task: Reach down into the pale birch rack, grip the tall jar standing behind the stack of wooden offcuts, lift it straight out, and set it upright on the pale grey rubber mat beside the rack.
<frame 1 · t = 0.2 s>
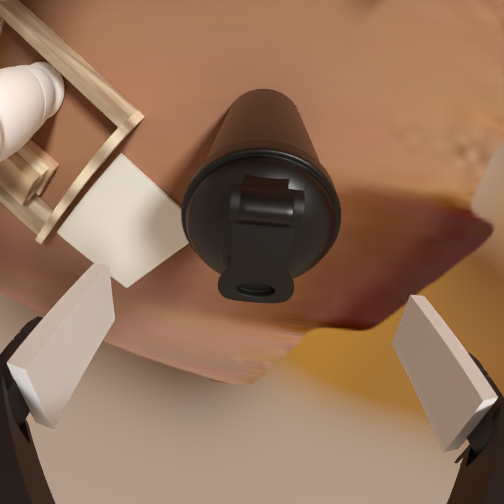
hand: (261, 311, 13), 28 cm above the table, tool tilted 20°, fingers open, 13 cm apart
mat: (123, 229, 46), on the table
jar: (41, 89, 31), resting in rack
offcut stack: (13, 141, 36), resting in rack
rack: (27, 114, 33), on the table
water bottle: (263, 122, 35), on the table
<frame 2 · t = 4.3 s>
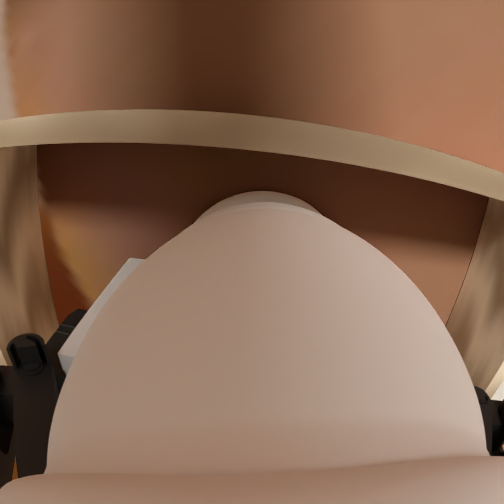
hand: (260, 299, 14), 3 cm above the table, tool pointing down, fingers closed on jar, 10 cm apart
jar: (259, 269, 17), resting in rack, touching gripper
rack: (250, 338, 18), on the table
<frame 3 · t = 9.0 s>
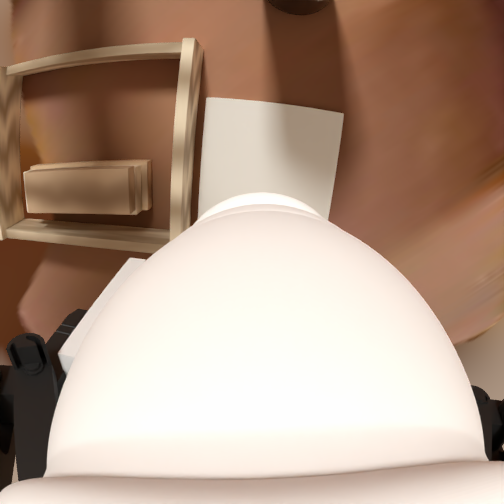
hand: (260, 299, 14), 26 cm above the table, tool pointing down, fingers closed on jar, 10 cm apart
mat: (266, 185, 38), on the table
jar: (259, 270, 17), point 23 cm above the table, touching gripper
offcut stack: (90, 182, 38), resting in rack
rack: (90, 144, 36), on the table
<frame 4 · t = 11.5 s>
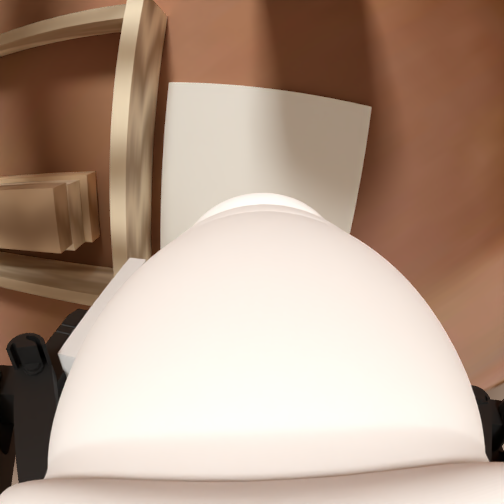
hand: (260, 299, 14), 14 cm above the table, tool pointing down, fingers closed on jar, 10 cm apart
mat: (257, 210, 27), on the table
jar: (259, 270, 17), point 11 cm above the table, touching gripper
offcut stack: (26, 203, 27), resting in rack
rack: (24, 154, 24), on the table
when the fingers open (5 cm above the table, at t = 13.8 s): jar drops 1 cm, resting on mat.
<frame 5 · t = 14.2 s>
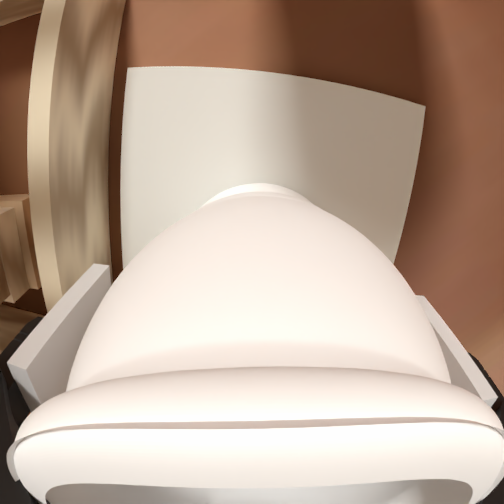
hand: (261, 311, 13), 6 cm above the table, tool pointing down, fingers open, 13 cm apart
mat: (259, 255, 19), on the table
jar: (257, 256, 18), resting on mat
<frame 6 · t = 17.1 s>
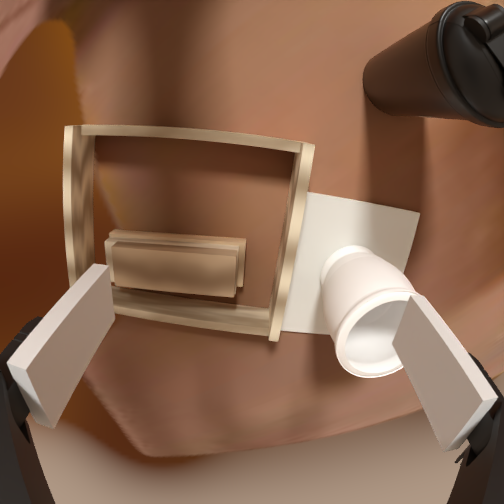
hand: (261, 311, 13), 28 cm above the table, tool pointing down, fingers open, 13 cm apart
mat: (349, 273, 43), on the table
jar: (349, 273, 43), resting on mat
offcut stack: (177, 254, 43), resting in rack
rack: (181, 222, 41), on the table
water bottle: (393, 84, 34), on the table
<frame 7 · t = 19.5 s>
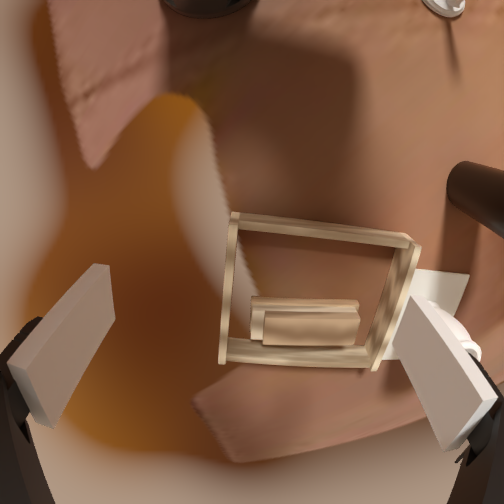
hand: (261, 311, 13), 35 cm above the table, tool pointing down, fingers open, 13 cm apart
mat: (420, 317, 55), on the table
jar: (420, 318, 55), resting on mat
offcut stack: (303, 312, 55), resting in rack
rack: (311, 291, 53), on the table
water bottle: (464, 185, 45), on the table
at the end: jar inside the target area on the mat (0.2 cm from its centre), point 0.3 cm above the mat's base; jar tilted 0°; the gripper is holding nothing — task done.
